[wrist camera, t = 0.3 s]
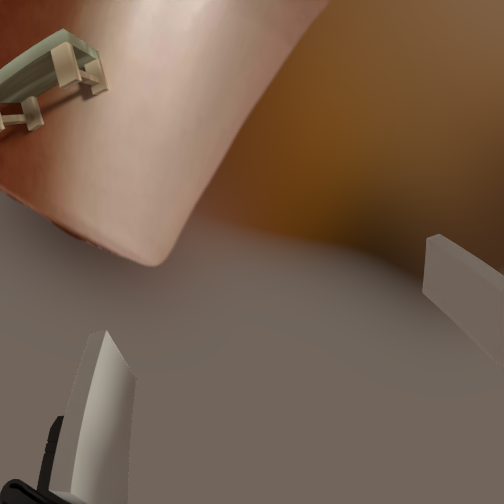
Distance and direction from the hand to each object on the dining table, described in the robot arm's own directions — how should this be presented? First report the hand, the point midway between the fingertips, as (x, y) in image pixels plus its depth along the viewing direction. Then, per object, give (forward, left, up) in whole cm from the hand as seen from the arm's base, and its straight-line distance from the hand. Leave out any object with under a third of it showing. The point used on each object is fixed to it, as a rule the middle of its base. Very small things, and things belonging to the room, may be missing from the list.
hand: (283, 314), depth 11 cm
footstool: (-18, -15, -27) cm, 36 cm away
